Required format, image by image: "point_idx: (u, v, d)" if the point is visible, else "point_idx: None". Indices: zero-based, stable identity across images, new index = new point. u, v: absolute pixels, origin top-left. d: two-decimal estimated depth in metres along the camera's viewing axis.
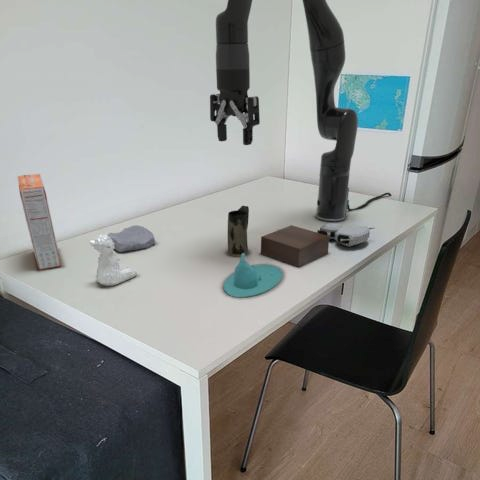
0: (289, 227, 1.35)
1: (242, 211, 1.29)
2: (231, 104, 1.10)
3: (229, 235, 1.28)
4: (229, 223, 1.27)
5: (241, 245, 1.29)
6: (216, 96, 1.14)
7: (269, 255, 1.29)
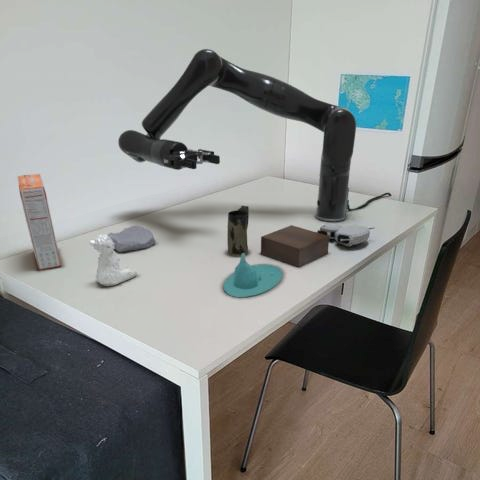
0: (289, 227, 1.35)
1: (242, 211, 1.29)
2: None
3: (229, 235, 1.28)
4: (229, 223, 1.27)
5: (241, 245, 1.29)
6: None
7: (269, 255, 1.29)
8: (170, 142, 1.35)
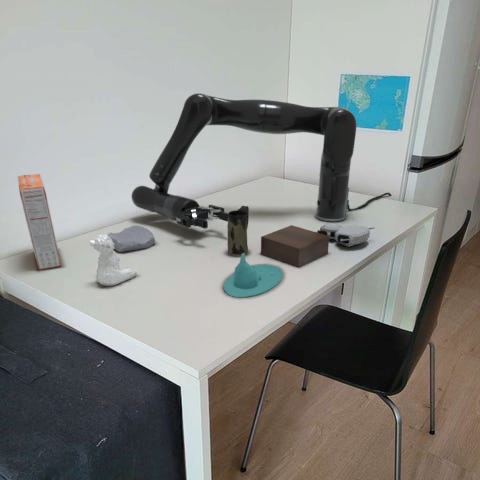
0: (289, 227, 1.35)
1: (242, 211, 1.29)
2: None
3: (229, 235, 1.28)
4: (229, 223, 1.27)
5: (241, 245, 1.29)
6: None
7: (269, 255, 1.29)
8: (182, 199, 1.41)
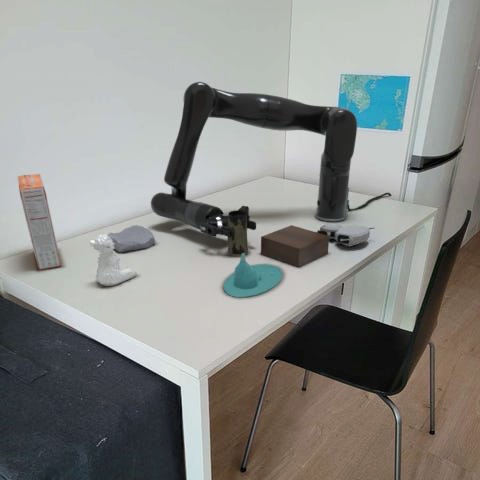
0: (289, 227, 1.35)
1: (242, 211, 1.29)
2: None
3: None
4: (229, 223, 1.27)
5: (241, 245, 1.29)
6: None
7: (269, 255, 1.29)
8: (206, 207, 1.35)
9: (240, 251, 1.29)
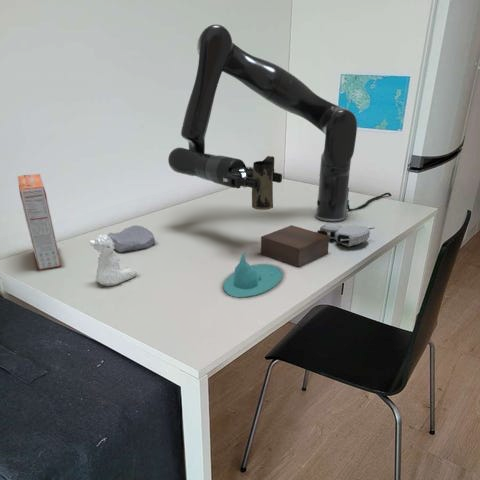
0: (289, 227, 1.35)
1: (267, 161, 1.22)
2: None
3: None
4: (254, 173, 1.19)
5: (266, 198, 1.21)
6: None
7: (269, 255, 1.29)
8: (228, 159, 1.28)
9: (265, 204, 1.22)
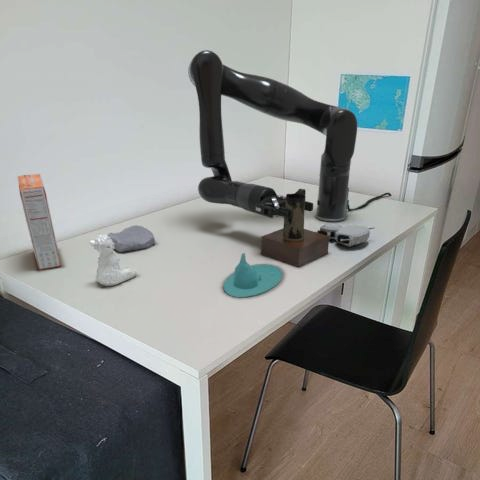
0: None
1: (299, 194, 1.25)
2: None
3: (286, 219, 1.24)
4: (287, 206, 1.23)
5: (298, 229, 1.24)
6: None
7: (269, 255, 1.29)
8: (259, 188, 1.30)
9: (297, 235, 1.25)
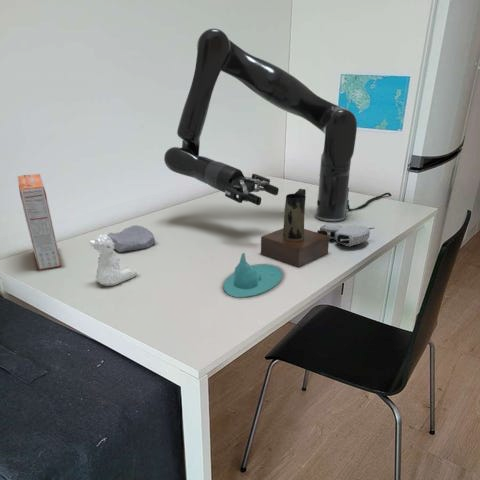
0: None
1: (299, 194, 1.25)
2: None
3: (286, 219, 1.24)
4: (287, 206, 1.22)
5: (298, 229, 1.24)
6: None
7: (269, 255, 1.29)
8: (228, 169, 1.36)
9: (297, 236, 1.25)
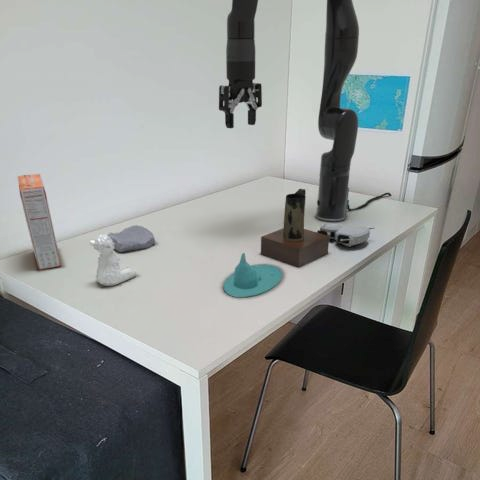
0: None
1: (299, 194, 1.25)
2: None
3: (286, 219, 1.24)
4: (287, 206, 1.22)
5: (298, 229, 1.24)
6: None
7: (269, 255, 1.29)
8: (248, 69, 1.23)
9: (297, 236, 1.25)
